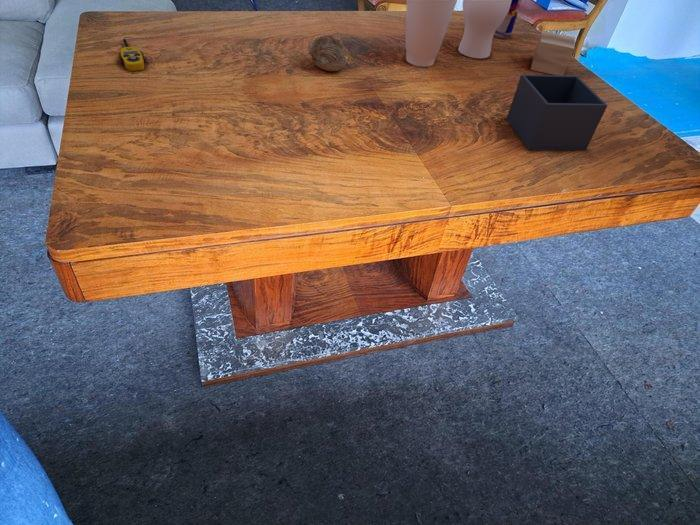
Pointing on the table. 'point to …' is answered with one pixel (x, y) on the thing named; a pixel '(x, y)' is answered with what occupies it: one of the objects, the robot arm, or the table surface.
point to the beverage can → (508, 21)
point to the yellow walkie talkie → (132, 58)
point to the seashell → (327, 53)
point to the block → (552, 53)
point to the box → (555, 112)
